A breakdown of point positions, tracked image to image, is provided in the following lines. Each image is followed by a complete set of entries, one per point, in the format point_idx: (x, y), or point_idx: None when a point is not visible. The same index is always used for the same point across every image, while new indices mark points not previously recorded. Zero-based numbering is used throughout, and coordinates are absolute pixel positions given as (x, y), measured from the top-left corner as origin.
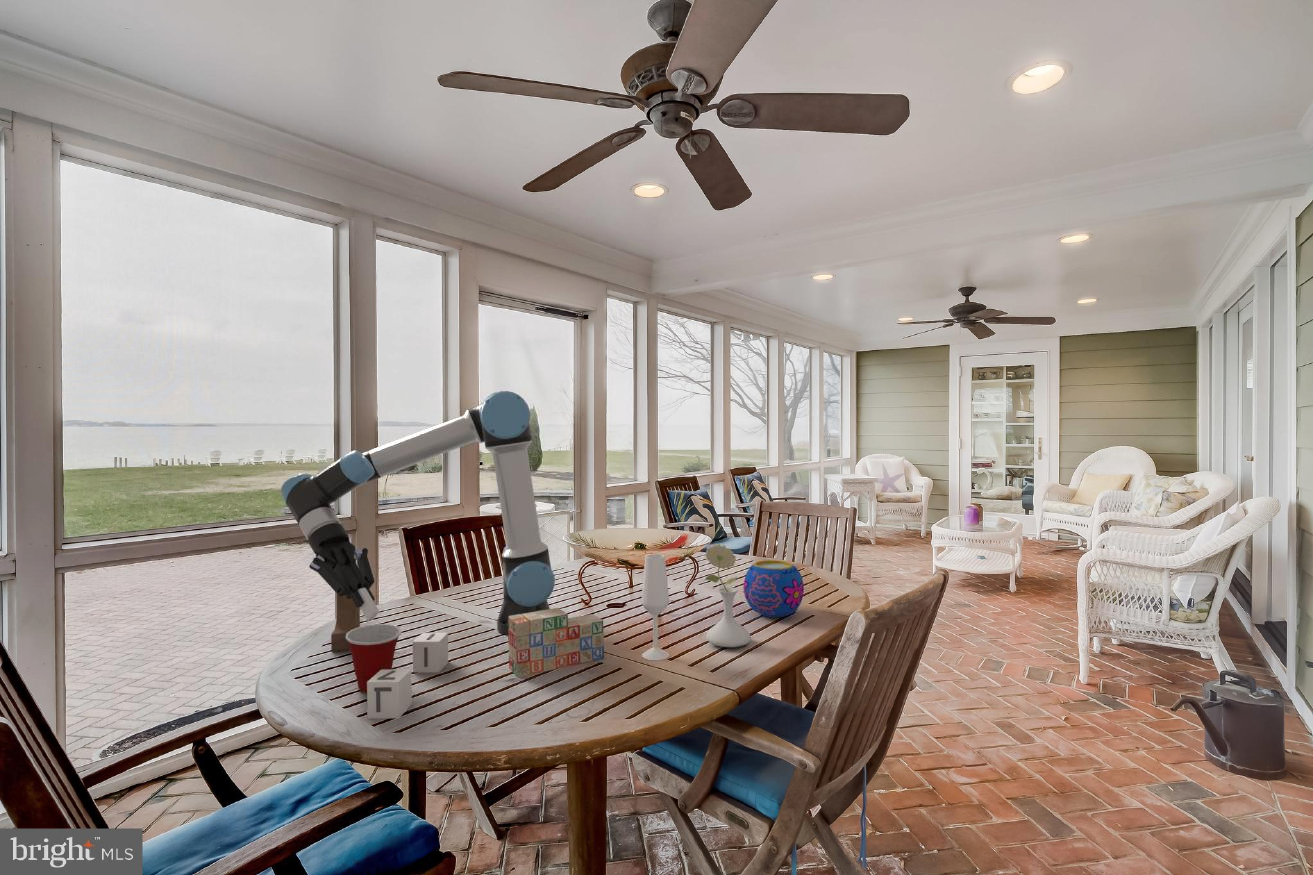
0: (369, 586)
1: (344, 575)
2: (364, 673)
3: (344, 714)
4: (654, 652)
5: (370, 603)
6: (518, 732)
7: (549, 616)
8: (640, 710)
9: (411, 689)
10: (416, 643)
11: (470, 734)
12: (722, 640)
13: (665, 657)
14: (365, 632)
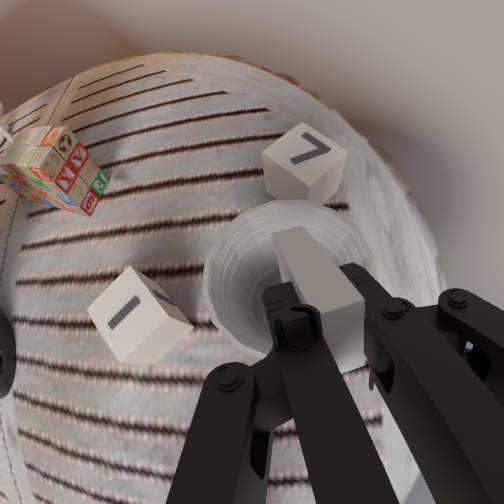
0: (263, 359)
1: (492, 397)
2: None
3: (364, 227)
4: None
5: (303, 249)
6: (216, 75)
7: (32, 130)
8: (127, 70)
9: (264, 176)
10: (164, 309)
11: (251, 90)
12: (5, 128)
13: None
14: None
